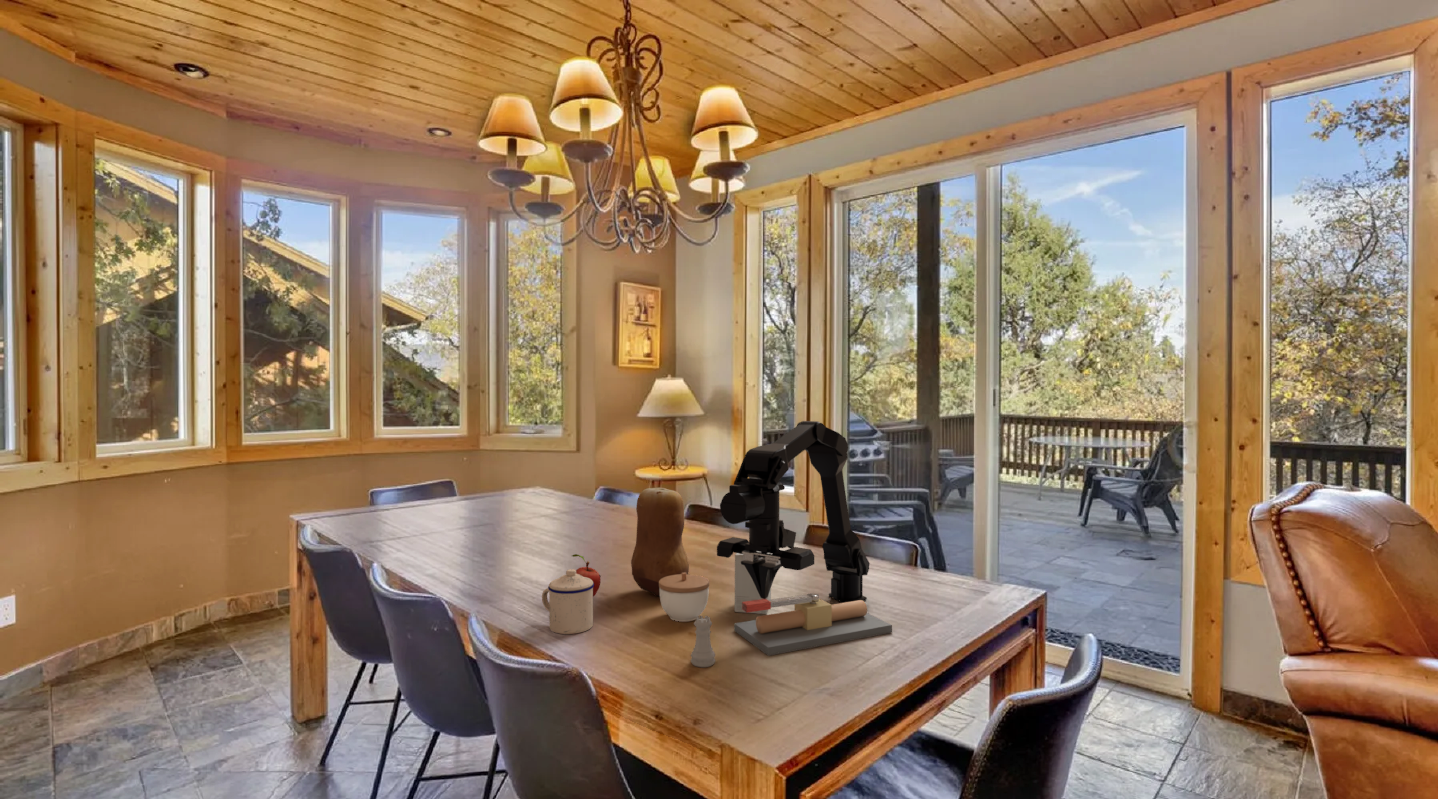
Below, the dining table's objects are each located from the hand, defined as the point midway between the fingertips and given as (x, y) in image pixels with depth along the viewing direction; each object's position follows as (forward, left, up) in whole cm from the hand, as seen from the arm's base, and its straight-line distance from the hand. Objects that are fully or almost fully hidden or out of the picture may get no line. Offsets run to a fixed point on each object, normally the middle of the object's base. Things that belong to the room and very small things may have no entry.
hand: (764, 598), depth 128 cm
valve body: (-12, -2, -9) cm, 15 cm away
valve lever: (-5, -2, -3) cm, 6 cm away
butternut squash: (+7, -39, -9) cm, 40 cm away
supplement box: (-8, -20, -9) cm, 23 cm away
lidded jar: (+8, -21, -9) cm, 24 cm away
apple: (+24, -43, -9) cm, 50 cm away
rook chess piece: (+14, +3, -9) cm, 17 cm away
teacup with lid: (+32, -26, -9) cm, 42 cm away
